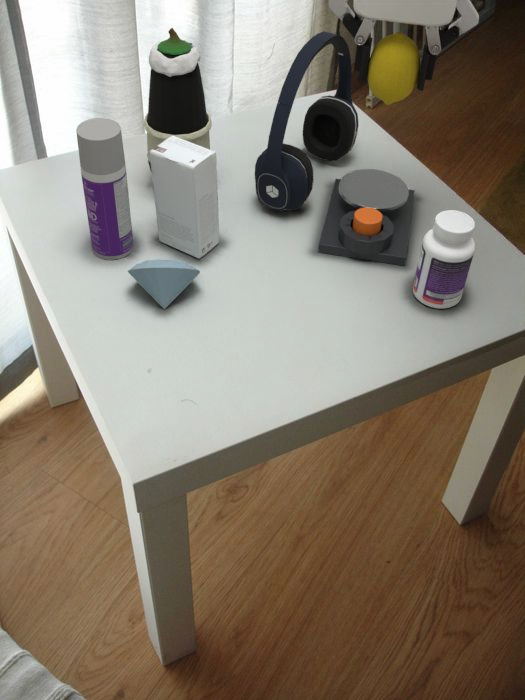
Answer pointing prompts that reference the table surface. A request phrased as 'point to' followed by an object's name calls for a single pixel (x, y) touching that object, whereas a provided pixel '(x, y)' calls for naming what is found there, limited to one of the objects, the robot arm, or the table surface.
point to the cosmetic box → (185, 195)
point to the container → (105, 187)
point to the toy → (176, 95)
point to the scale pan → (373, 190)
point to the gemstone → (163, 278)
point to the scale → (377, 247)
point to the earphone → (307, 130)
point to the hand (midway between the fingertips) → (391, 79)
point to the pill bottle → (445, 260)
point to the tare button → (367, 221)
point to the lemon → (393, 68)
